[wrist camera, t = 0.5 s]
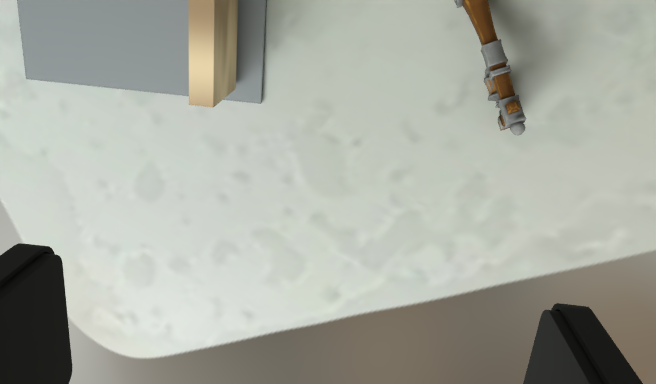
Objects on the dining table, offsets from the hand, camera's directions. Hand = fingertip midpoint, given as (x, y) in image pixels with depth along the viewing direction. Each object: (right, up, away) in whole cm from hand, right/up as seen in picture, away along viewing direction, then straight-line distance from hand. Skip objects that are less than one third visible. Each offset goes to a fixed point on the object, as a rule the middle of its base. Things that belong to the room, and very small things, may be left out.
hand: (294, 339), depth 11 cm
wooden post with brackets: (+10, +11, +20) cm, 24 cm away
